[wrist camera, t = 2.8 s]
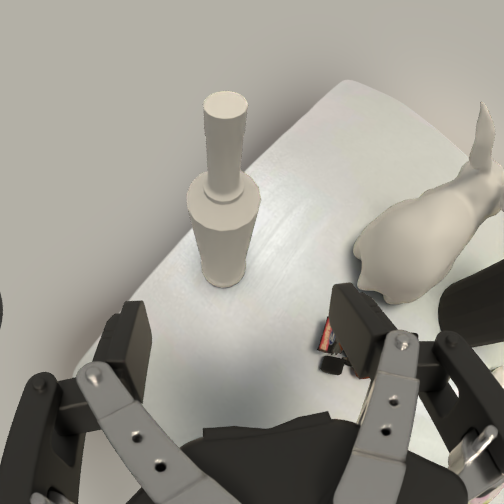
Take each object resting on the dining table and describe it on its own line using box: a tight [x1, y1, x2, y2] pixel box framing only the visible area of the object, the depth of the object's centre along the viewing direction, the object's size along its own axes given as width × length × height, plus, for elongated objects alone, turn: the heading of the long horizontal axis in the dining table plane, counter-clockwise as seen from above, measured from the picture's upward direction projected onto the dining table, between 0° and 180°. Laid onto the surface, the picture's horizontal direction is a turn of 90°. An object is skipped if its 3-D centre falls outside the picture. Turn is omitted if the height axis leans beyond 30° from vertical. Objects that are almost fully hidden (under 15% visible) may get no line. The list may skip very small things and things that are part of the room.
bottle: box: [187, 91, 261, 288], centre depth 24 cm, size 5×5×25 cm
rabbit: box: [353, 102, 504, 305], centre depth 27 cm, size 12×21×25 cm, turn 122°
